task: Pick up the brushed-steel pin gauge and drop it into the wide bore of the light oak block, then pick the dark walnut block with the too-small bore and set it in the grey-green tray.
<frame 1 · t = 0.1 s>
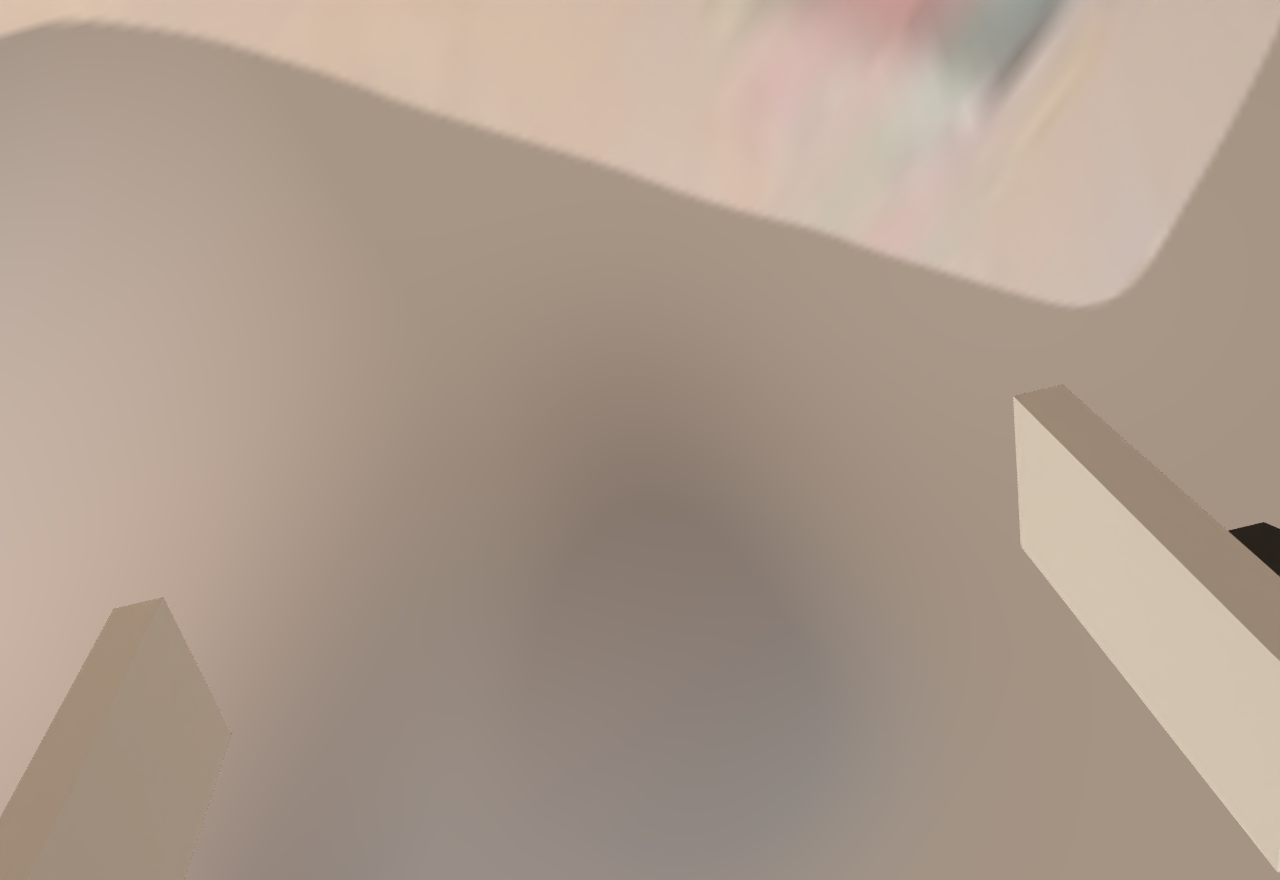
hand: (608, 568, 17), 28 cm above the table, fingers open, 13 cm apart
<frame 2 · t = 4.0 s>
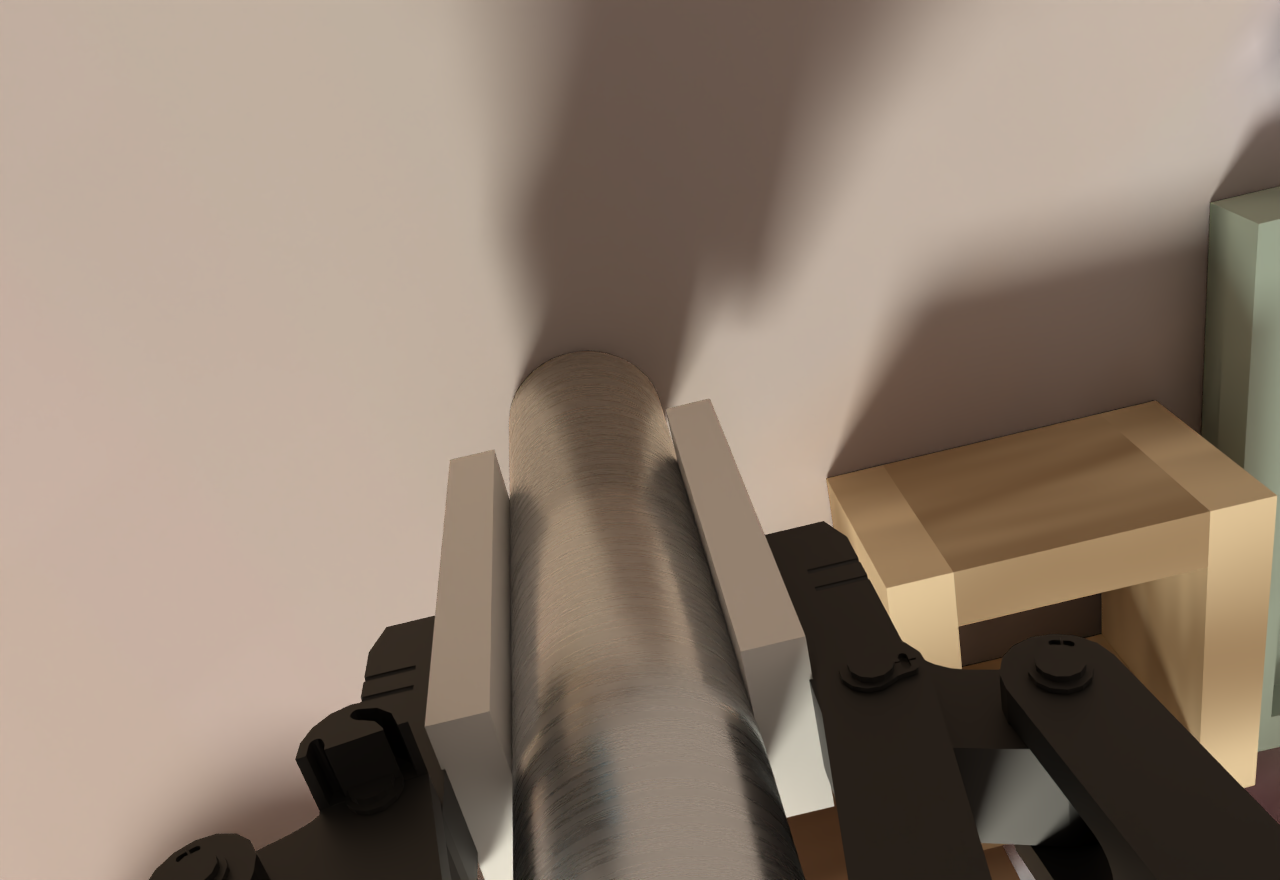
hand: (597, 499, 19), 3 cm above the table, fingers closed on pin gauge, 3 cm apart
pin gauge: (586, 422, 21), on the table, touching gripper
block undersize: (825, 875, 28), on the table
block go: (999, 576, 24), on the table
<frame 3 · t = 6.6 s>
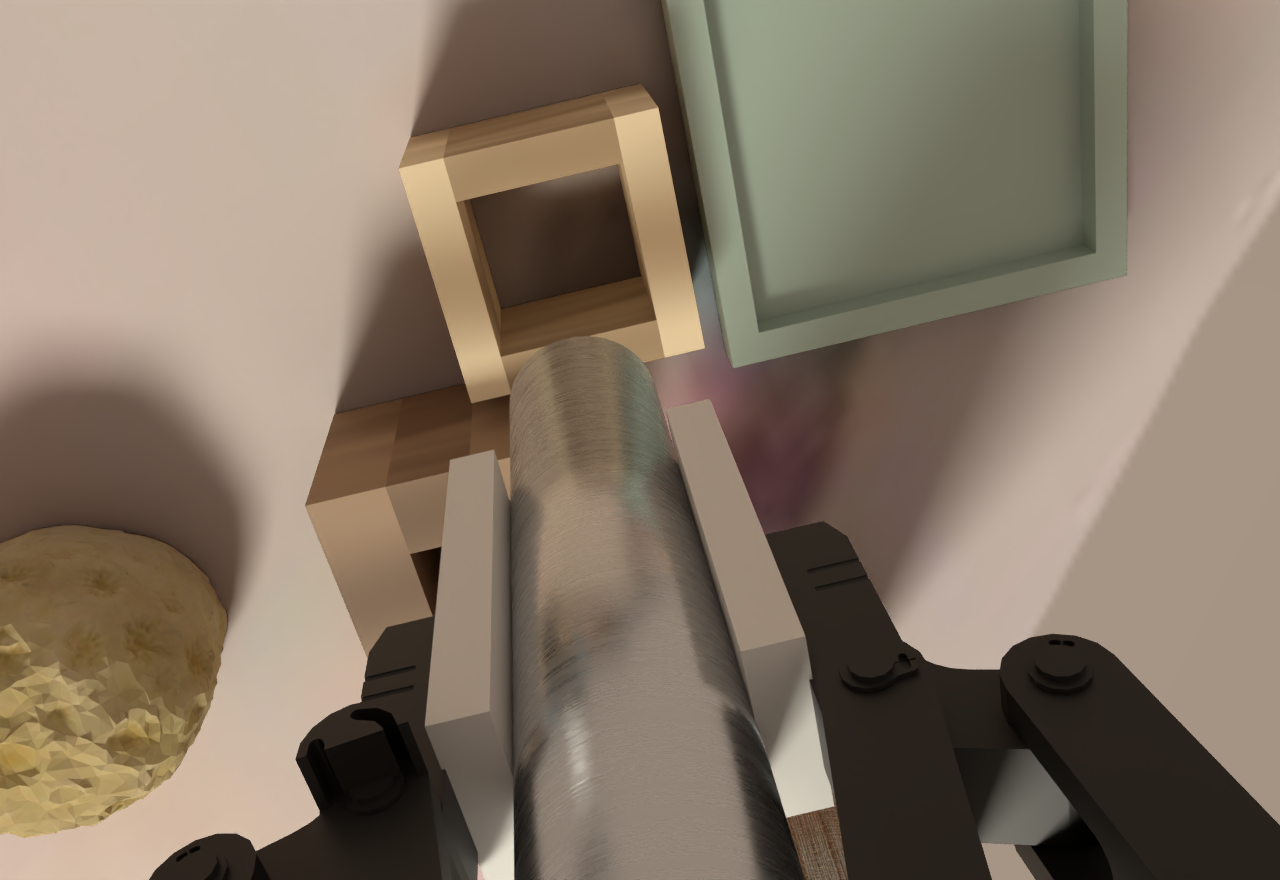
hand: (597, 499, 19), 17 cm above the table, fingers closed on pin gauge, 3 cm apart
pin gauge: (583, 405, 22), point 13 cm above the table, touching gripper
decorative item: (96, 615, 39), on the table
tray: (896, 110, 34), on the table
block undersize: (467, 480, 38), on the table
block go: (553, 223, 34), on the table
planter: (719, 674, 43), on the table
when the fingers open (5 cm above the table, at t = 9.4 s): pin gauge stays where it is, resting in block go.
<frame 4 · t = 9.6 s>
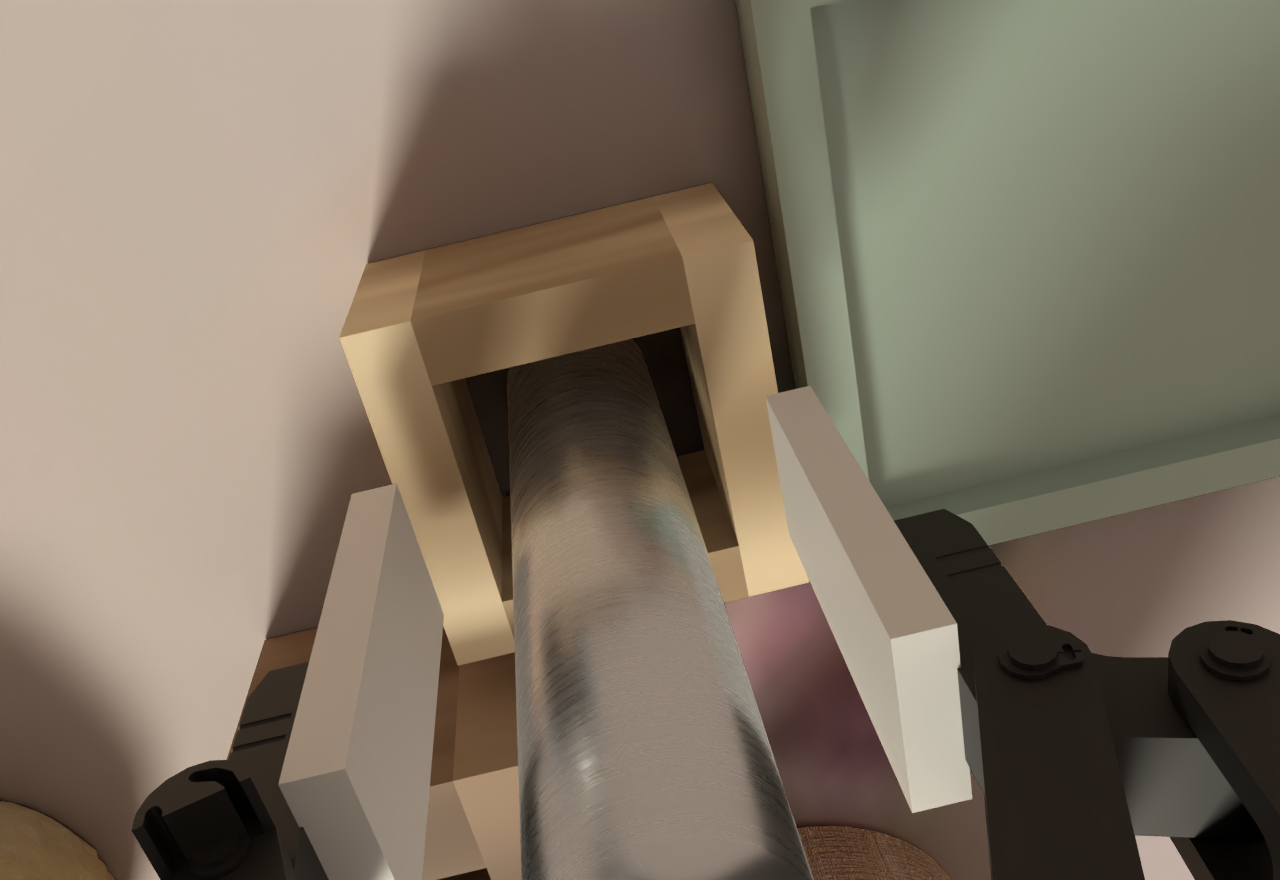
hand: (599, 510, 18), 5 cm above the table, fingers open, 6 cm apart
pin gauge: (578, 382, 23), resting in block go
tray: (1083, 217, 23), on the table
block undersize: (455, 718, 27), on the table
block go: (579, 381, 23), on the table
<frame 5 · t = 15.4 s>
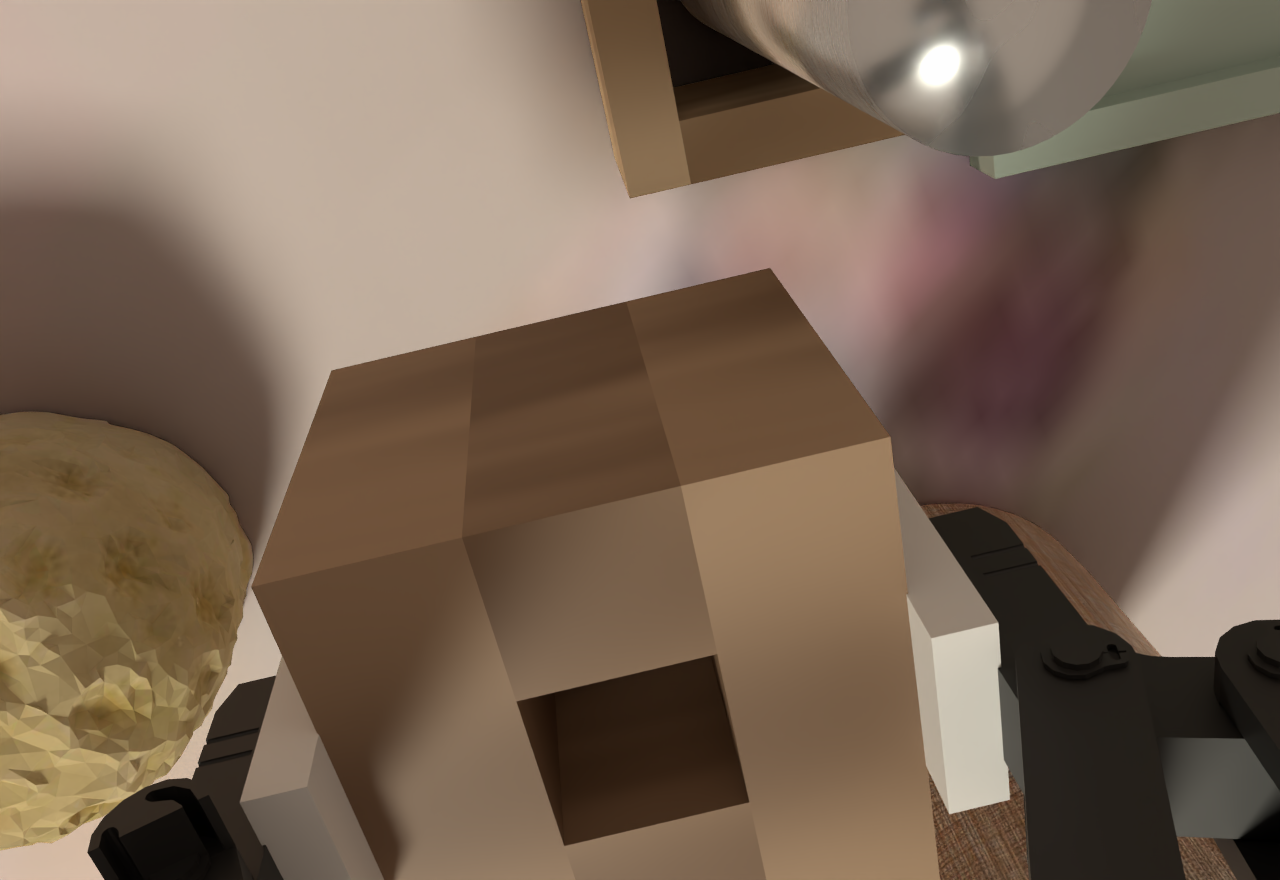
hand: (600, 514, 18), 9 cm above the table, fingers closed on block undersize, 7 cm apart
decorative item: (72, 548, 28), on the table
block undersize: (600, 508, 19), point 8 cm above the table, touching gripper
planter: (917, 647, 31), on the table
when the fingers open (1 cm above the table, at t = 20.5 s): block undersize stays where it is, resting on tray.
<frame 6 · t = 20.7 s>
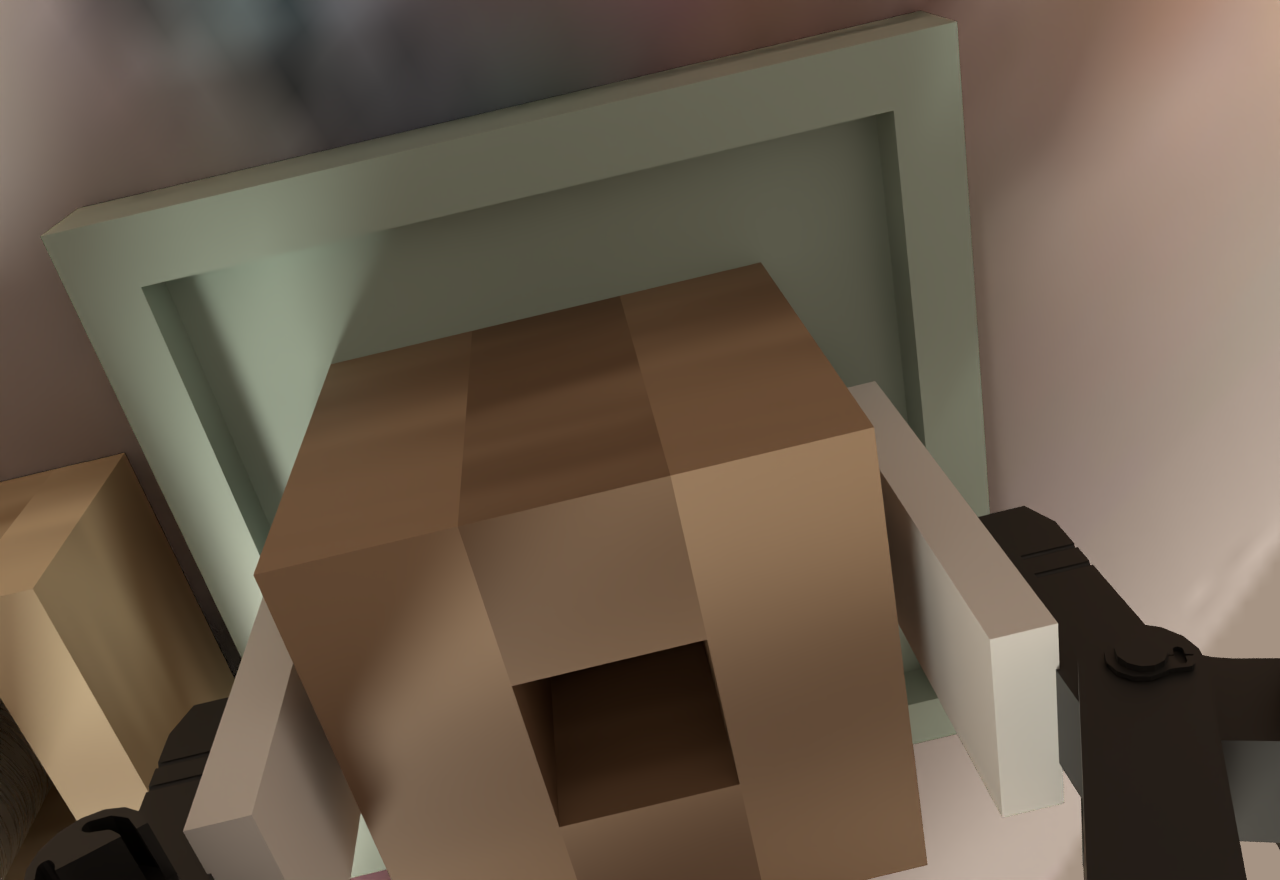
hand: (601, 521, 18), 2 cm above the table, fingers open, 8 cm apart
pin gauge: (15, 664, 20), resting in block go
tray: (595, 476, 19), on the table
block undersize: (595, 498, 19), point 1 cm above the table, touching tray
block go: (17, 663, 20), on the table
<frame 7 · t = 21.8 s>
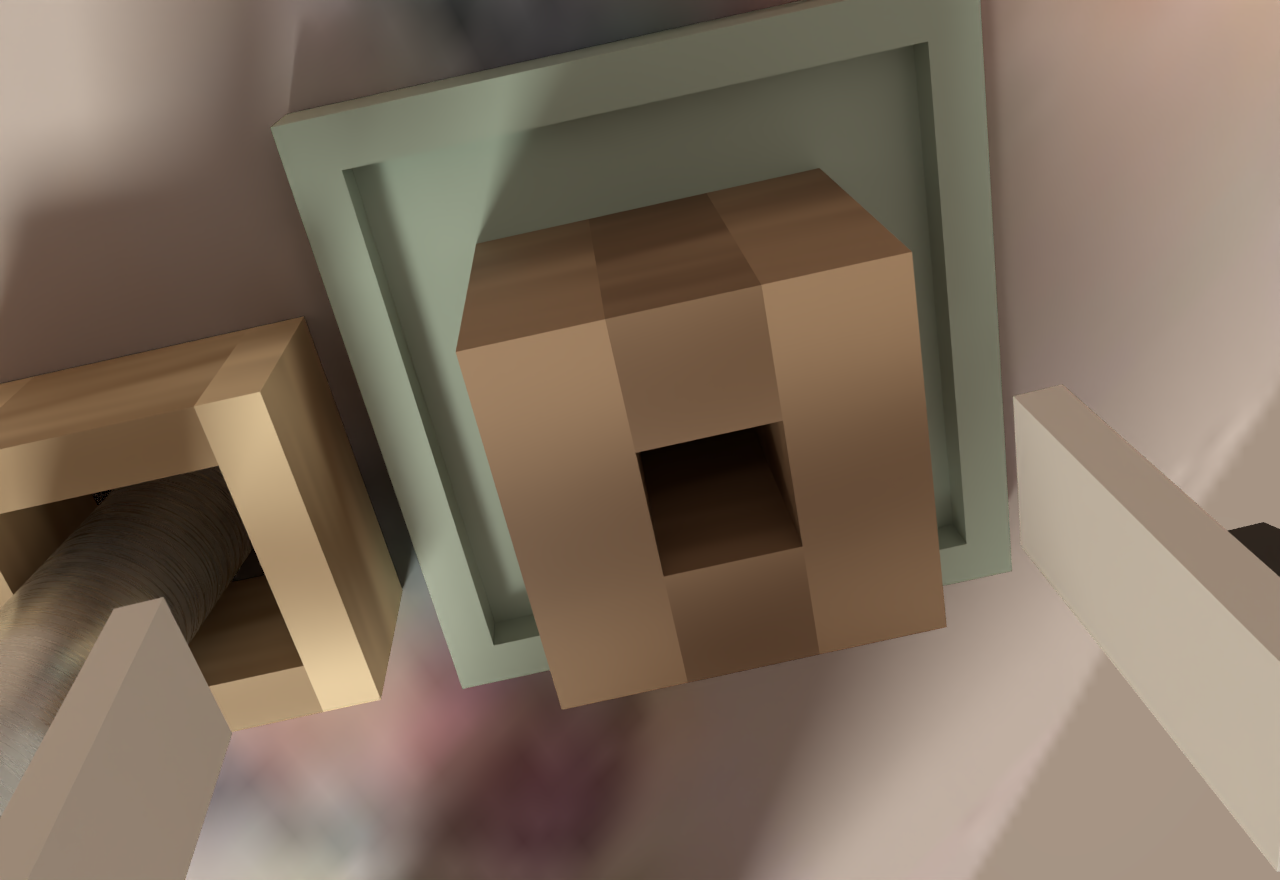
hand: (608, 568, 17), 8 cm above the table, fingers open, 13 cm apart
pin gauge: (199, 502, 24), resting in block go, tilted 8°
tray: (678, 350, 24), on the table
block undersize: (679, 365, 23), point 1 cm above the table, touching tray
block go: (203, 495, 24), on the table
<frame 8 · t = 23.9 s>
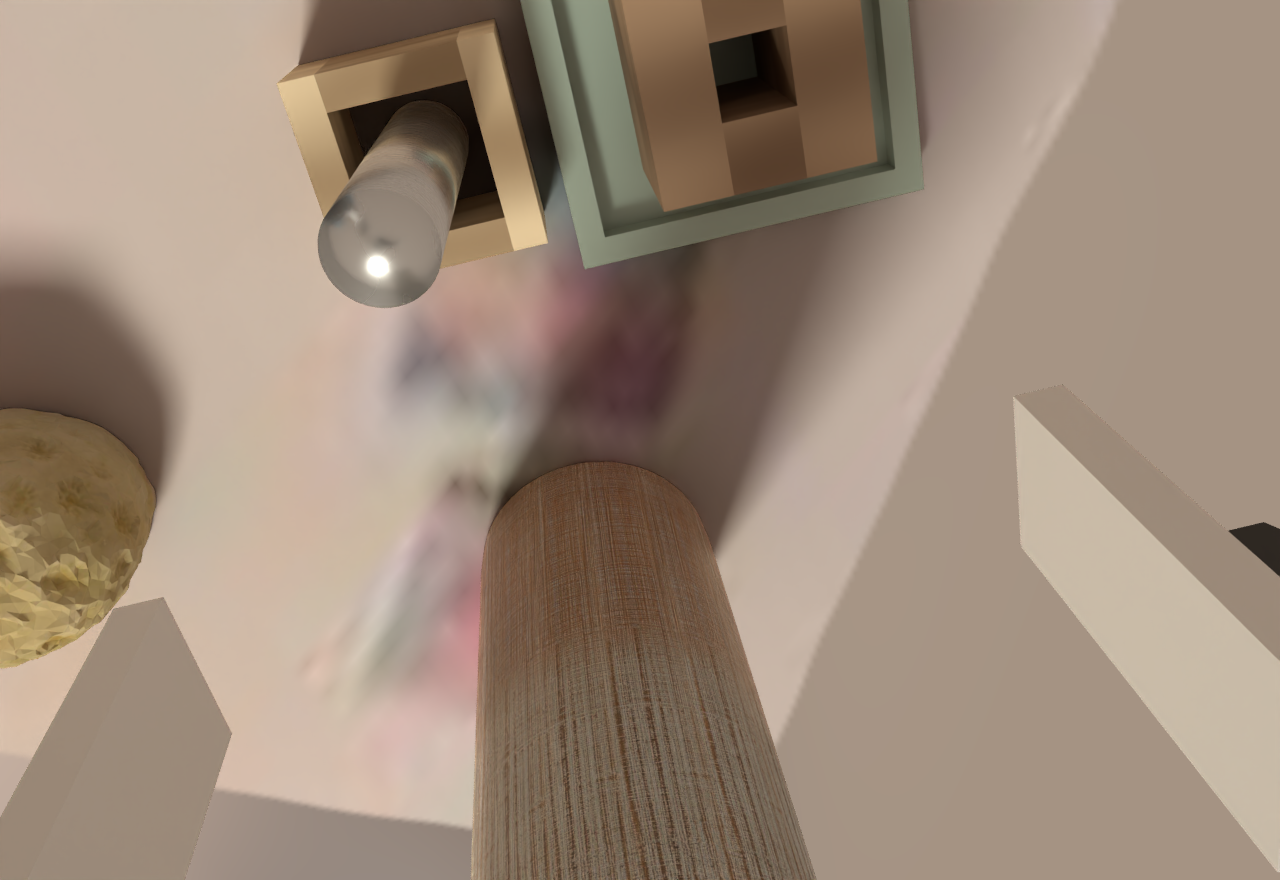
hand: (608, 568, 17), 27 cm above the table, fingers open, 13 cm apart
pin gauge: (427, 142, 40), resting in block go
decorative item: (41, 492, 44), on the table
tray: (718, 44, 39), on the table
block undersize: (719, 49, 39), point 1 cm above the table, touching tray
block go: (426, 141, 40), on the table
planter: (595, 555, 49), on the table
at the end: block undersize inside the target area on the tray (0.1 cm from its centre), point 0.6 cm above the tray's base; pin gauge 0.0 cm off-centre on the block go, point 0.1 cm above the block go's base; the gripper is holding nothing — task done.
